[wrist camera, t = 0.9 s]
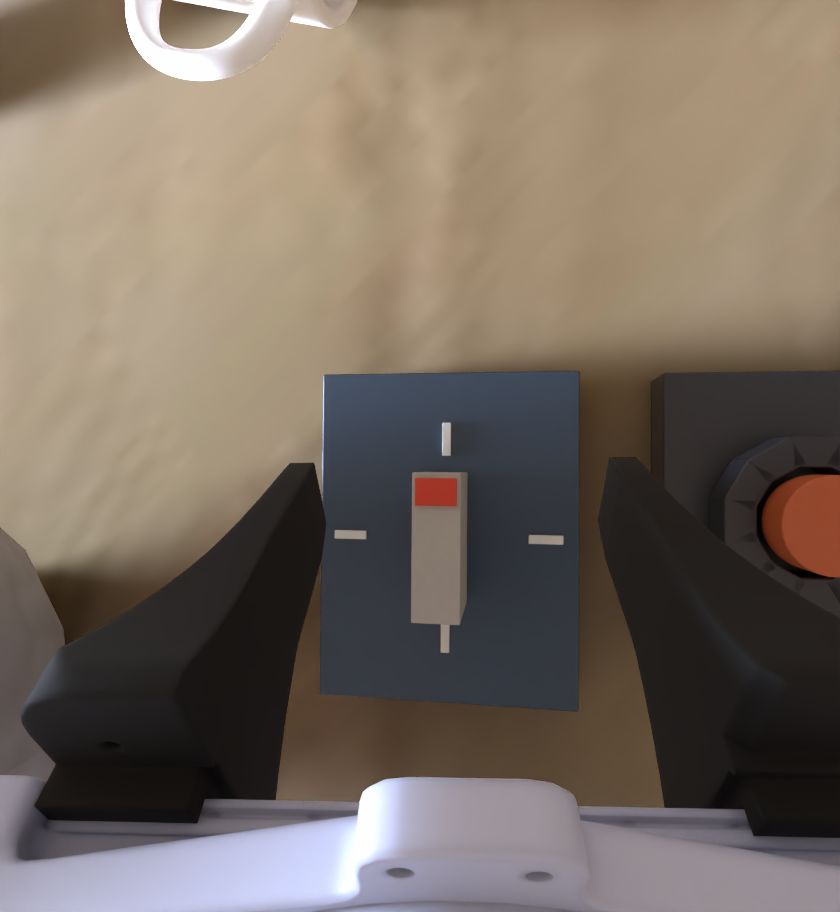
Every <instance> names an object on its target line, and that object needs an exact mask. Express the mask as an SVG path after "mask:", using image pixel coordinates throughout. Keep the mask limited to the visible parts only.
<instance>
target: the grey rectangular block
mask: <svg viewBox="0 0 840 912" xmlns="http://www.w3.org/2000/svg"><path fill="white" fill-rule="evenodd" d="M467 485H468V473H467V472H413V473H412V551H411V623H423V624H443V625H460V622H461V619H462V616H463V613H464V609H465V606H466V603H467Z"/></svg>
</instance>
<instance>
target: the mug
mask: <svg viewBox="0 0 840 912" xmlns="http://www.w3.org/2000/svg"><path fill="white" fill-rule="evenodd" d="M174 1H180V2H186V3H191V4H197V5H202V6H208V7H213V8H219V9H224V10H230V11H236V12H241V13H247V14H250V15H249V17H248V18H247V20H246V21H245V23H244V24H243V25H242V26H241V28H240V29H239V30H238V31H237V32H236V33H235V34H234V35H233V36H232V37H230V38H229V39H228V40H226V41H224V42H223V43H221V44H219V45H216V46H213V47H210V48H204V49H182V48H176V47H172V46H169V45H168V44H166V43H165V42H164V41H163V39H162V38H161V35H160V30H159V16H160V8H161V2H162V0H125V13H126V21H127V26H128V30H129V33H130V36H131V39H132V41H133V43H134V45H135V47H136V49H137V50H138V52H139V53H140V54H141V56H142V57H143V58H144V59H145V60H146V61H147V62H148V63H149V64H151V65H152V66H153V67H155V68H156V69H158V70H159V71H161V72H163V73H165V74H168V75H170V76H174V77H177V78H181V79H186V80H194V81H212V80H220V79H225V78H229V77H233V76H236V75H238V74H241V73H243V72H245V71H247V70H249V69H251V68H252V67H254V66H255V65H257V64H258V63H260V62H261V61H262V60H263V59H264V58H266V57H267V56H268V55H269V54H270V52H271V51H272V50H273V49H274V48H275V47H276V45H277V44H278V43H279V41H280V40H281V38H282V36H283V34H284V33H285V31H286V29H287V27H288V25H289V23H290V21H291V22H297V23H302V24H308V25H314V26H319V27H325V28H337V27H339V26H341V25H342V24H344V23H345V22H346V21H347V19H348V18H349V17H350V15H351V14H352V12H353V10H354V8H355V6H356V4H357V1H358V0H174Z"/></svg>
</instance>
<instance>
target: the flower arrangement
mask: <svg viewBox="0 0 840 912" xmlns="http://www.w3.org/2000/svg"><path fill="white" fill-rule="evenodd" d="M63 646H65V640H64V630H63V627H62V625H61V623H60V620H59V618H58V616H57V614H56V612H55V610H54V608H53V606H52V604H51V602H50V600H49V598H48V596H47V594H46V592H45V589H44V587H43V585H42V583H41V581H40V579H39V577H38V575H37V573H36V571H35V569H34V567H33V565H32V563H31V561H30V558H29V556H28V554H27V552H26V550H25V549H24V548H22V547H21V546H20V545H19V544H18V543H17V542H16V541H15V540H14V539H12V538H11V537H10V536H9V535H8V534H7V533H6V532H5V531H4V530H2V529H1V528H0V775H24V776H33V777H37V778H40V779H43V780H45V781H46V782H47V781H48V779H49V777H50V775H51V773H52V771H53V769H54V767H55V765H56V764H55V763H54V762H53V760H52V759H51V758H50V757H49V756H48V755H47V754H46V753H45V752H44V751H43V749H42V748H41V747H40V746H39V745H38V744H37V743H36V742H35V741H34V740H33V738H32V737H31V736H30V735H29V734H28V732H27V731H26V729H25V728H24V726H23V724H22V722H21V716H20V711H21V709H22V707H23V705H24V704H25V702H26V700H27V699H28V697H29V695H30V694H31V692H32V690H33V689H34V687H35V685H36V684H37V682H38V680H39V678H40V677H41V675H42V673H43V672H44V670H45V668H46V667H47V665H48V664H49V662H50V661H51V659H52V658H53V656H54V655H55V653H56V652H57V650H58V649H59V648H61V647H63Z"/></svg>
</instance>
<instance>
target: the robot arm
mask: <svg viewBox="0 0 840 912" xmlns="http://www.w3.org/2000/svg"><path fill="white" fill-rule="evenodd" d="M598 522H599V527H600V533H601V539H602V544H603V549H604V554H605V558H606V561H607V565H608V568H609V571H610V574H611V577H612V580H613V583H614V586H615V589H616V592H617V595H618V598H619V601H620V604H621V607H622V610H623V613H624V616H625V619H626V622H627V625H628V628H629V631H630V634H631V637H632V641H633V644H634V648H635V652H636V656H637V660H638V665H639V670H640V674H641V679H642V684H643V688H644V693H645V698H646V703H647V708H648V714H649V719H650V724H651V729H652V734H653V740H654V746H655V752H656V757H657V763H658V769H659V774H660V781H661V787H662V794H663V800H664V807H665V808H646V807H596V806H578V804H577V802H576V799H575V796H574V795H573V794H572V793H571V792H569V791H568V790H566V789H564V788H562V787H560V786H558V785H556V784H554V783H552V782H546V781H539V780H532V779H504V778H444V777H402V778H393V779H384V780H382V781H380V782H378V783H376V784H374V785H372V786H370V787H368V788H367V789H366V790H364V791H363V793H362V796H361V799H360V802H342V801H291V800H276V792H277V783H278V774H279V765H280V758H281V750H282V742H283V735H284V727H285V720H286V713H287V707H288V700H289V694H290V687H291V681H292V675H293V669H294V663H295V657H296V652H297V647H298V643H299V639H300V634H301V631H302V627H303V624H304V620H305V617H306V613H307V609H308V606H309V602H310V599H311V595H312V592H313V588H314V585H315V581H316V577H317V574H318V570H319V566H320V562H321V559H322V552H323V546H324V539H325V531H326V518H325V513H324V508H323V503H322V499H321V494H320V489H319V484H318V479H317V475H316V470H315V465H314V463H290V464H289V465H288V466H287V467H286V468H285V469H284V470H283V472H282V473H281V474H280V475H279V476H278V477H277V479H276V480H275V481H274V482H273V483H272V485H271V486H270V487H269V488H268V489H267V490H266V492H265V493H264V494H263V495H262V496H261V497H260V499H259V500H258V501H257V502H256V503H255V504H254V505H253V506H252V508H251V509H250V510H249V511H248V512H247V513H246V514H245V515H244V516H243V518H242V519H241V520H240V521H239V522H238V523H237V524H236V525H235V526H234V527H233V528H232V529H231V530H230V531H229V532H228V533H227V534H226V535H225V536H224V537H223V538H222V539H221V540H220V541H219V542H218V543H217V544H216V545H215V546H214V547H213V548H211V549H210V550H209V551H208V552H207V553H206V554H205V555H204V556H203V557H201V558H200V559H199V560H198V561H197V562H195V563H194V564H193V565H192V566H191V567H189V568H188V569H187V570H186V571H184V572H183V573H182V574H180V575H179V576H178V577H176V578H175V579H173V580H172V581H171V582H169V583H168V584H167V585H165V586H164V587H162V588H161V589H160V590H158V591H157V592H156V593H154V594H153V595H151V596H150V597H148V598H147V599H145V600H144V601H142V602H141V603H139V604H138V605H136V606H135V607H133V608H131V609H130V610H128V611H126V612H125V613H123V614H121V615H120V616H118V617H117V618H115V619H113V620H111V621H110V622H108V623H106V624H104V625H103V626H101V627H99V628H97V629H95V630H93V631H91V632H89V633H88V634H86V635H84V636H82V637H80V638H78V639H76V640H74V641H72V642H71V643H69V644H67V645H65V646H63V647H61V648H59V649H58V650H57V652H56V653H55V655H54V656H53V658H52V659H51V661H50V662H49V664H48V665H47V667H46V668H45V670H44V672H43V673H42V675H41V677H40V678H39V680H38V682H37V684H36V685H35V687H34V689H33V690H32V692H31V694H30V695H29V697H28V699H27V700H26V702H25V704H24V705H23V707H22V709H21V711H20V716H21V722H22V724H23V726H24V728H25V729H26V731H27V732H28V734H29V735H30V736H31V737H32V738H33V740H34V741H35V742H36V743H37V744H38V745H39V746H40V747H41V748H42V749H43V751H44V752H45V753H46V754H47V755H48V756H49V757H50V758H51V759H52V760H53V762H54V763H55V764H56V765H55V767H54V769H53V771H52V773H51V775H50V777H49V779H48V781H47V782H46V781H45V780H43V779H40V778H37V777H33V776H24V775H0V912H840V617H838V616H836V615H834V614H832V613H830V612H828V611H827V610H825V609H823V608H821V607H819V606H817V605H816V604H814V603H812V602H811V601H809V600H807V599H805V598H804V597H802V596H800V595H799V594H797V593H795V592H794V591H792V590H791V589H789V588H787V587H786V586H784V585H783V584H781V583H779V582H778V581H776V580H775V579H773V578H772V577H770V576H769V575H767V574H766V573H764V572H763V571H761V570H760V569H758V568H757V567H756V566H754V565H753V564H752V563H750V562H749V561H747V560H746V559H745V558H743V557H742V556H741V555H739V554H738V553H737V552H735V551H734V550H733V549H731V548H730V547H729V546H728V545H726V544H725V543H724V542H723V541H721V540H720V539H719V538H718V537H717V536H715V535H714V534H713V533H712V532H711V531H710V530H708V529H707V528H706V527H705V526H704V525H703V524H702V523H700V522H699V521H698V520H697V519H696V518H695V517H694V516H693V515H692V514H691V513H690V512H689V511H688V510H687V509H686V508H685V507H683V506H682V505H681V504H680V503H679V502H678V501H677V500H676V499H675V498H674V497H673V496H672V495H671V494H670V493H669V492H668V491H667V490H666V489H665V487H664V486H663V485H662V484H661V483H660V482H659V481H658V480H657V479H656V478H655V477H654V476H653V475H652V474H651V473H650V472H649V471H648V470H647V469H646V468H645V467H644V466H643V465H642V463H641V462H640V461H639V460H638V459H637V458H636V457H611V458H609V462H608V468H607V473H606V479H605V484H604V490H603V495H602V501H601V507H600V512H599V518H598Z"/></svg>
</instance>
